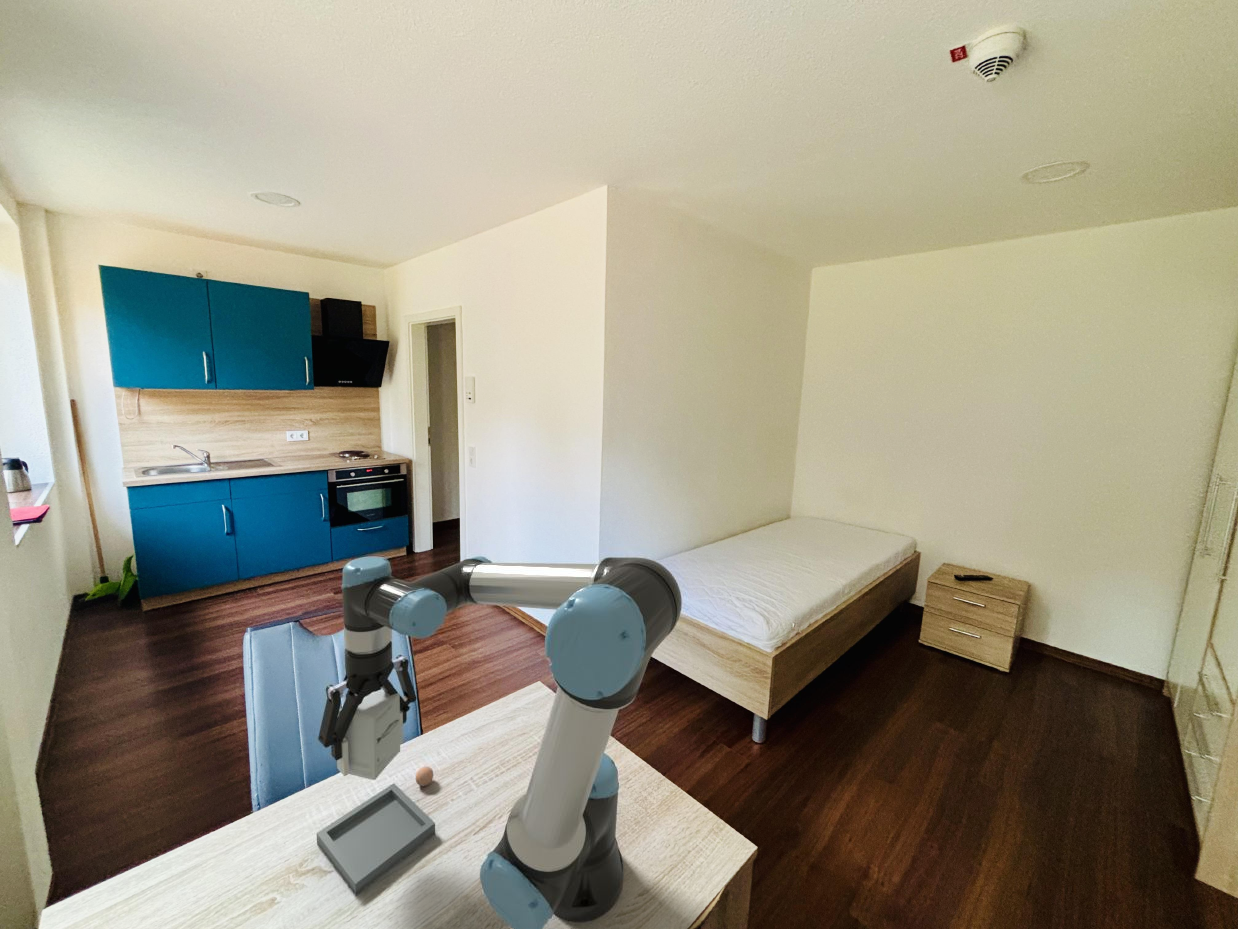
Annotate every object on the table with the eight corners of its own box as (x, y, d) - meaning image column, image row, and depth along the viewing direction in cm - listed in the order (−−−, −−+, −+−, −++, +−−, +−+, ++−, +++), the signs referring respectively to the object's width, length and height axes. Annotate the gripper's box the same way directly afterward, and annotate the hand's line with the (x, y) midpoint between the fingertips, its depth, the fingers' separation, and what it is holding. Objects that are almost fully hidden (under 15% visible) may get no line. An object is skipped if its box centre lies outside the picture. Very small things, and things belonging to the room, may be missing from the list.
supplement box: (375, 782, 87) (373, 718, 84) (339, 772, 88) (336, 710, 86) (401, 751, 94) (400, 692, 92) (368, 743, 95) (366, 685, 93)
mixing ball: (436, 782, 107) (436, 768, 106) (421, 793, 104) (421, 778, 103) (427, 774, 109) (427, 760, 108) (412, 784, 106) (412, 769, 106)
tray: (435, 834, 95) (435, 823, 94) (355, 896, 83) (355, 884, 82) (394, 793, 104) (393, 783, 103) (317, 844, 92) (316, 833, 91)
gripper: (414, 615, 98) (415, 715, 102) (289, 661, 80) (296, 780, 84) (436, 628, 93) (436, 732, 97) (309, 680, 76) (315, 805, 80)
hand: (371, 754), depth 91 cm, fingers closed on supplement box, 9 cm apart
